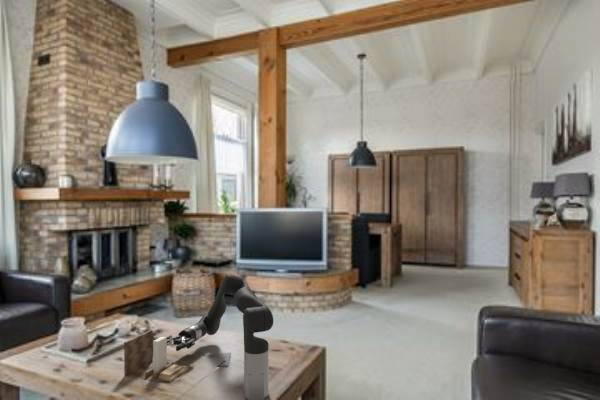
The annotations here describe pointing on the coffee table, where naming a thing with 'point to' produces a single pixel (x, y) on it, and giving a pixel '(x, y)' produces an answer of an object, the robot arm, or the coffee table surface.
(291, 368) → the coffee table surface
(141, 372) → the rack
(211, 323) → the robot arm
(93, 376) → the coffee table surface
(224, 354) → the mat
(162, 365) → the block
